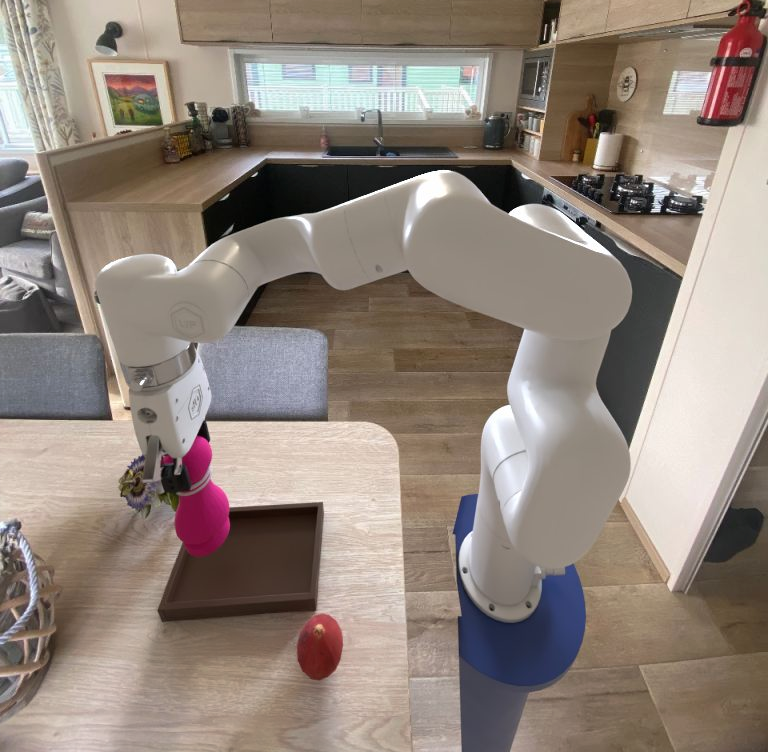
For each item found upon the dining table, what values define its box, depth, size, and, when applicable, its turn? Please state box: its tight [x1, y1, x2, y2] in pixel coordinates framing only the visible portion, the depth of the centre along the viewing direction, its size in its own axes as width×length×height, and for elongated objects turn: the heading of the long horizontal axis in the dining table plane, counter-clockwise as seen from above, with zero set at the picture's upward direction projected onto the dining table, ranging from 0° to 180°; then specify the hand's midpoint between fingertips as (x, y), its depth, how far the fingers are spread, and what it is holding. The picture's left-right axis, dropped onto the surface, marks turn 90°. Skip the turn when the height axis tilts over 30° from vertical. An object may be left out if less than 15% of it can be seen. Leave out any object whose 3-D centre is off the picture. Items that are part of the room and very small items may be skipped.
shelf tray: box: [156, 501, 325, 623], centre depth 61 cm, size 22×14×3 cm, turn 94°
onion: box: [296, 613, 344, 681], centre depth 49 cm, size 6×6×8 cm
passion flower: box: [117, 453, 180, 520], centre depth 70 cm, size 11×11×12 cm
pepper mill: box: [164, 436, 230, 557], centre depth 54 cm, size 7×7×20 cm
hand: (189, 464), depth 52 cm, fingers closed on pepper mill, 6 cm apart
